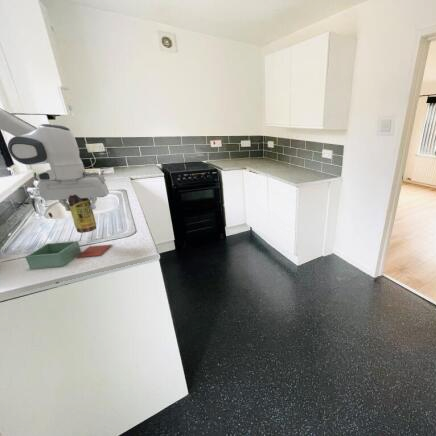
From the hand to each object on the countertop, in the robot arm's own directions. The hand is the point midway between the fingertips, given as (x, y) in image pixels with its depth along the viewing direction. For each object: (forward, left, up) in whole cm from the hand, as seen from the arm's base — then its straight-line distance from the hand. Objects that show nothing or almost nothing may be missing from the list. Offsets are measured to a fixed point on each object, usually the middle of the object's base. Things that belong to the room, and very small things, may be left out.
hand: (81, 209), depth 92 cm
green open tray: (-10, -5, -18) cm, 21 cm away
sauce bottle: (0, 0, -9) cm, 9 cm away
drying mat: (0, 0, -18) cm, 18 cm away
